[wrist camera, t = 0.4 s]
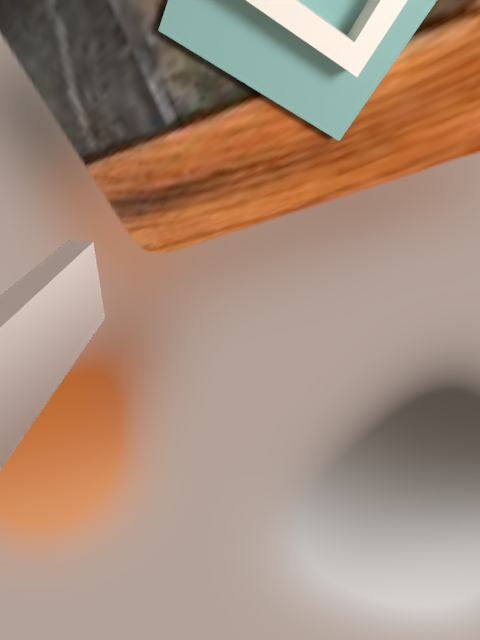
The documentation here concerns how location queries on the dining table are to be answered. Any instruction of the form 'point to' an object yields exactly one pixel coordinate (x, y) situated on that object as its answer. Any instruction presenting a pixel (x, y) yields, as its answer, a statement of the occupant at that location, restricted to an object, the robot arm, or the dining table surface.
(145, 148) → the dining table surface
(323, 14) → the cup holder
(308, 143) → the dining table surface
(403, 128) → the dining table surface
